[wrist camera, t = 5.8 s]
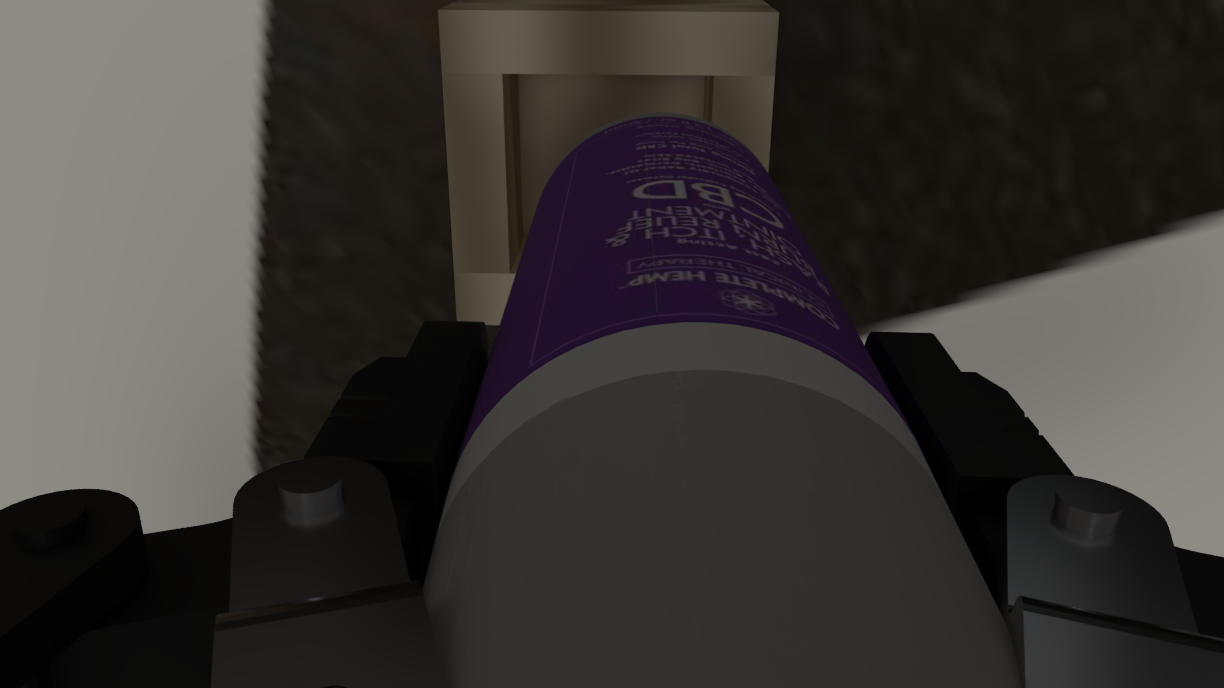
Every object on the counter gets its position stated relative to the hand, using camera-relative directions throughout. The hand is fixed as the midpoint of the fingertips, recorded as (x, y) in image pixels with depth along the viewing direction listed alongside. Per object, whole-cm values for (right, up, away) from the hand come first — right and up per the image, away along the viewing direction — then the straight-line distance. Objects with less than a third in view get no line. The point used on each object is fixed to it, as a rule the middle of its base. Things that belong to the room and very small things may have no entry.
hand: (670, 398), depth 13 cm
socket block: (-1, +8, +27) cm, 28 cm away
